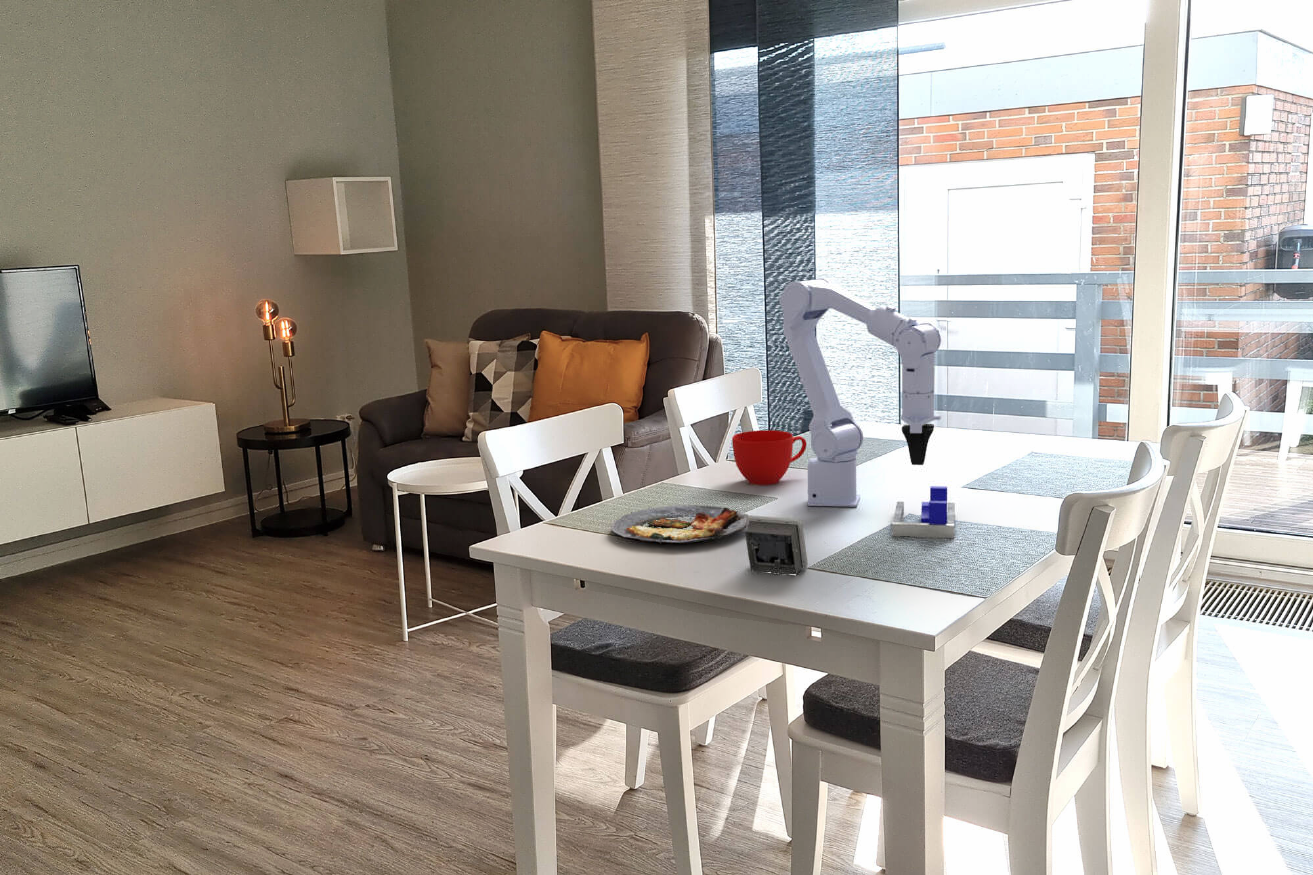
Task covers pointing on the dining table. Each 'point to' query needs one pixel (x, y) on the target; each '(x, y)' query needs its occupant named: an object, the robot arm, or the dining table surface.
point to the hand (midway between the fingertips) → (917, 464)
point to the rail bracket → (923, 525)
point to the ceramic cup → (764, 455)
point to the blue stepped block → (935, 506)
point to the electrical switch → (775, 544)
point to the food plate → (680, 523)
